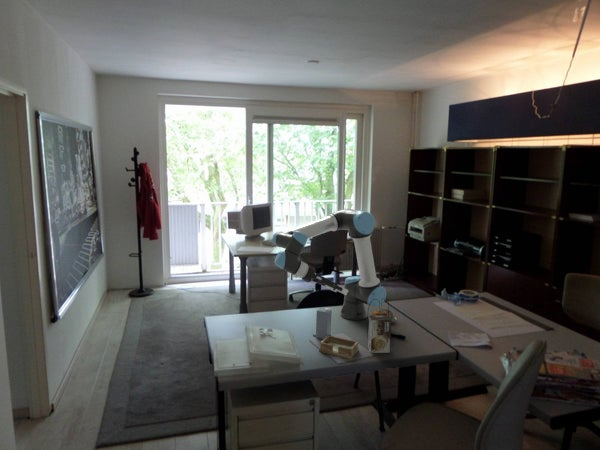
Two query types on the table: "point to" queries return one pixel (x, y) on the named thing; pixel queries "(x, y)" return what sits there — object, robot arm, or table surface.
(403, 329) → the table surface
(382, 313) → the multimeter
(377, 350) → the coffee box
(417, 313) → the table surface
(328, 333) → the blue-grey rectangular block
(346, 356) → the pocket tray
